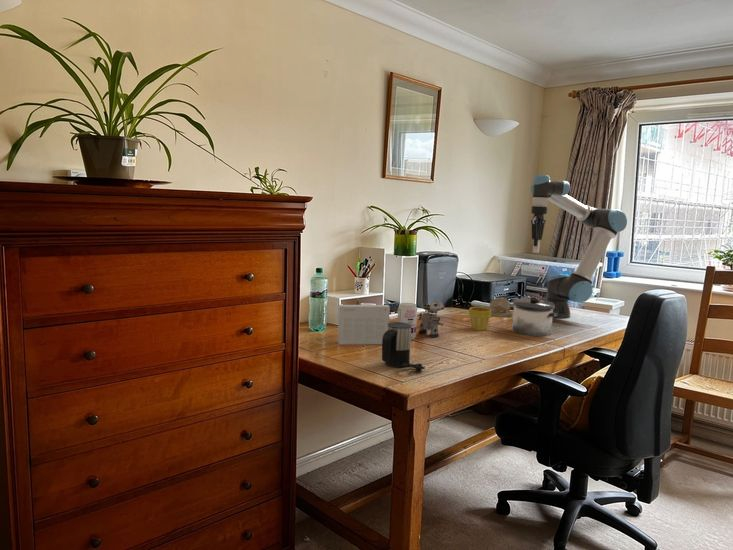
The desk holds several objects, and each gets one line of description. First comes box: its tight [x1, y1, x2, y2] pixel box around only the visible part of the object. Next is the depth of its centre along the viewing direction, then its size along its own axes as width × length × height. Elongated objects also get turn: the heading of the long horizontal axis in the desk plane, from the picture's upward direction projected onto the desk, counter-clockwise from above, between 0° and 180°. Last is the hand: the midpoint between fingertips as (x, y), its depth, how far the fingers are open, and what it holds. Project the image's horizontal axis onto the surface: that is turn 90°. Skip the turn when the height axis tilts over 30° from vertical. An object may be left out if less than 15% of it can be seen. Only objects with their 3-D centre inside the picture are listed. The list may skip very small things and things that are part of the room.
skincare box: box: [337, 304, 391, 345], centre depth 230 cm, size 21×5×16 cm, turn 100°
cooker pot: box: [510, 305, 557, 337], centre depth 267 cm, size 20×22×12 cm
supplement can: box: [397, 302, 418, 341], centre depth 242 cm, size 8×8×15 cm
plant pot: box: [468, 306, 492, 331], centre depth 268 cm, size 10×10×10 cm
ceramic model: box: [489, 296, 514, 318], centre depth 305 cm, size 14×11×10 cm
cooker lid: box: [512, 296, 555, 310], centre depth 265 cm, size 19×19×4 cm
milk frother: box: [381, 321, 426, 372], centre depth 199 cm, size 14×16×15 cm
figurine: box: [417, 300, 445, 338], centre depth 250 cm, size 9×12×15 cm
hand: (535, 252), depth 285 cm, fingers closed
